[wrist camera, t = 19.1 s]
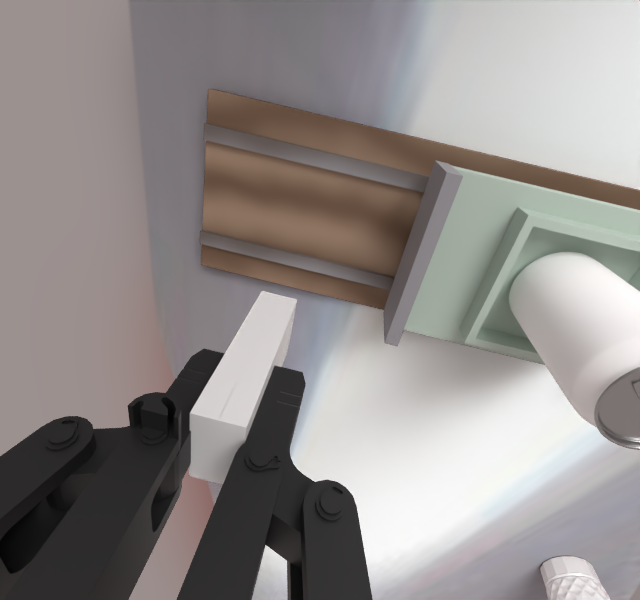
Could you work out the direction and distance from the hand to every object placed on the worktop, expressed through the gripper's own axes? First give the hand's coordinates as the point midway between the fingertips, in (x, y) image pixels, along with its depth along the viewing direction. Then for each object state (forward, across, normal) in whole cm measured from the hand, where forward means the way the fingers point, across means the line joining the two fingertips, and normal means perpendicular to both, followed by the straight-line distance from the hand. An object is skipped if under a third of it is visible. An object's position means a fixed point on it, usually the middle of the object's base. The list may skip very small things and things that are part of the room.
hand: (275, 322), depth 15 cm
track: (+19, -10, +1) cm, 21 cm away
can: (+14, -18, +1) cm, 23 cm away
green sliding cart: (+17, -16, +1) cm, 24 cm away
